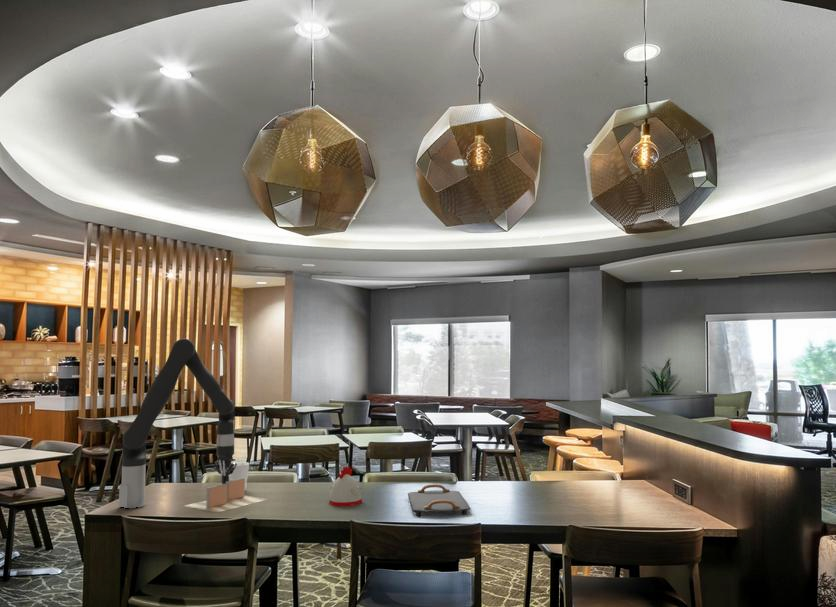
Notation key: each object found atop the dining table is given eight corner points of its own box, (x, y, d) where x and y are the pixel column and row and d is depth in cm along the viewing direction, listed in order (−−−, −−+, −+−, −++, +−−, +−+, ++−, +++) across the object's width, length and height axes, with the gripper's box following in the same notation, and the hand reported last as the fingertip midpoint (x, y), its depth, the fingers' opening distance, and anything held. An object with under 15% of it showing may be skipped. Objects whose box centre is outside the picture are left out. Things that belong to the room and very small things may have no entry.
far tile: (228, 500, 274) (228, 481, 275) (225, 500, 275) (225, 481, 276) (244, 496, 281) (244, 478, 282) (241, 496, 282) (242, 478, 283)
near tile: (209, 508, 261) (209, 488, 262) (206, 507, 262) (206, 487, 263) (227, 503, 268) (227, 484, 269) (224, 503, 269) (224, 483, 270)
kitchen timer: (368, 501, 274) (368, 465, 275) (347, 507, 262) (347, 470, 264) (343, 497, 281) (343, 463, 283) (322, 504, 270) (322, 467, 271)
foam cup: (241, 495, 290) (241, 465, 291) (223, 494, 293) (224, 465, 294) (252, 490, 299) (253, 462, 300) (235, 489, 302) (236, 461, 303)
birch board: (217, 514, 253) (217, 512, 253) (182, 508, 266) (182, 505, 266) (268, 501, 276) (268, 499, 276) (234, 496, 288) (234, 493, 288)
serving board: (472, 517, 245) (472, 501, 245) (412, 519, 243) (412, 503, 243) (458, 496, 283) (458, 481, 284) (406, 497, 281) (406, 483, 282)
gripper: (208, 444, 284) (208, 484, 283) (228, 446, 277) (228, 487, 276) (222, 442, 291) (222, 481, 289) (242, 444, 283) (241, 484, 282)
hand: (225, 484), depth 282 cm, fingers closed
